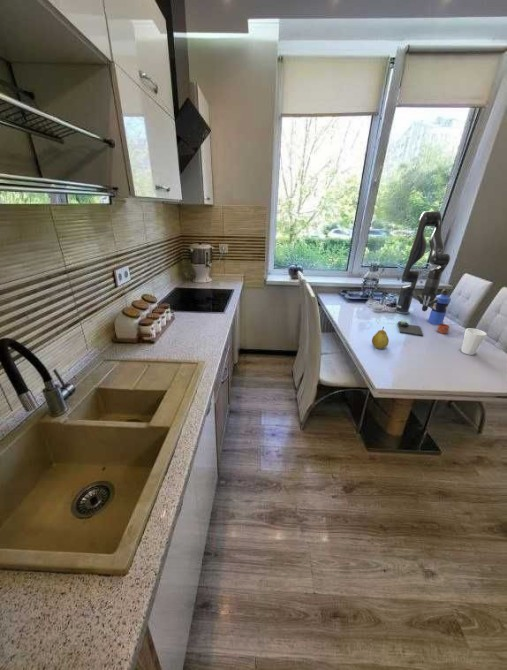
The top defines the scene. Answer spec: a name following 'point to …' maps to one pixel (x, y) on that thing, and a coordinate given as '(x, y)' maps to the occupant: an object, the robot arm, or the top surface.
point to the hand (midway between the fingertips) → (423, 310)
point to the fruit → (380, 339)
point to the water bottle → (439, 308)
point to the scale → (409, 329)
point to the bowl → (443, 328)
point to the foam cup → (472, 340)
